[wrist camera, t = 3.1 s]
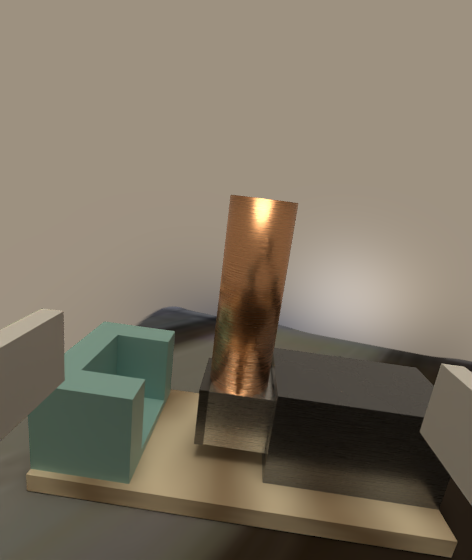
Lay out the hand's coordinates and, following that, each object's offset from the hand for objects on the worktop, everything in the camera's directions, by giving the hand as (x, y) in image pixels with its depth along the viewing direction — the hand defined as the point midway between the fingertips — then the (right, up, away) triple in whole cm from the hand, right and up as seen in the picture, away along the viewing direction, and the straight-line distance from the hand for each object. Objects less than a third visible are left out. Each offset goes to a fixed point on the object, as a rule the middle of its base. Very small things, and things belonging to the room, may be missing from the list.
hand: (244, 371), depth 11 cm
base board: (0, -10, +12) cm, 16 cm away
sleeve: (+7, -10, +12) cm, 17 cm away
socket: (-9, -7, +12) cm, 17 cm away
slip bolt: (+4, -8, +12) cm, 15 cm away
